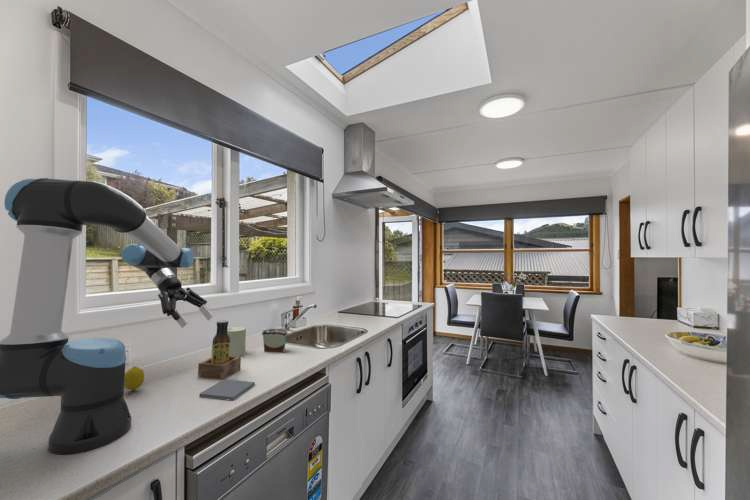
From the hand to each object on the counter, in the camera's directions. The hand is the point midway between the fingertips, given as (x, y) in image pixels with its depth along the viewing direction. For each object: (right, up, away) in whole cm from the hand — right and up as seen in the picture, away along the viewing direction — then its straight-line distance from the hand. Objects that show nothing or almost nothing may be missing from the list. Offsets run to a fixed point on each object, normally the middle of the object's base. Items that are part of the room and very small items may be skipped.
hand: (198, 321), depth 121 cm
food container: (+22, -20, +27) cm, 40 cm away
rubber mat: (+20, -19, -18) cm, 33 cm away
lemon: (-11, -19, -19) cm, 29 cm away
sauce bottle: (+10, -19, -3) cm, 22 cm away
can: (+5, -20, +21) cm, 29 cm away
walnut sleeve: (+10, -19, -3) cm, 22 cm away
